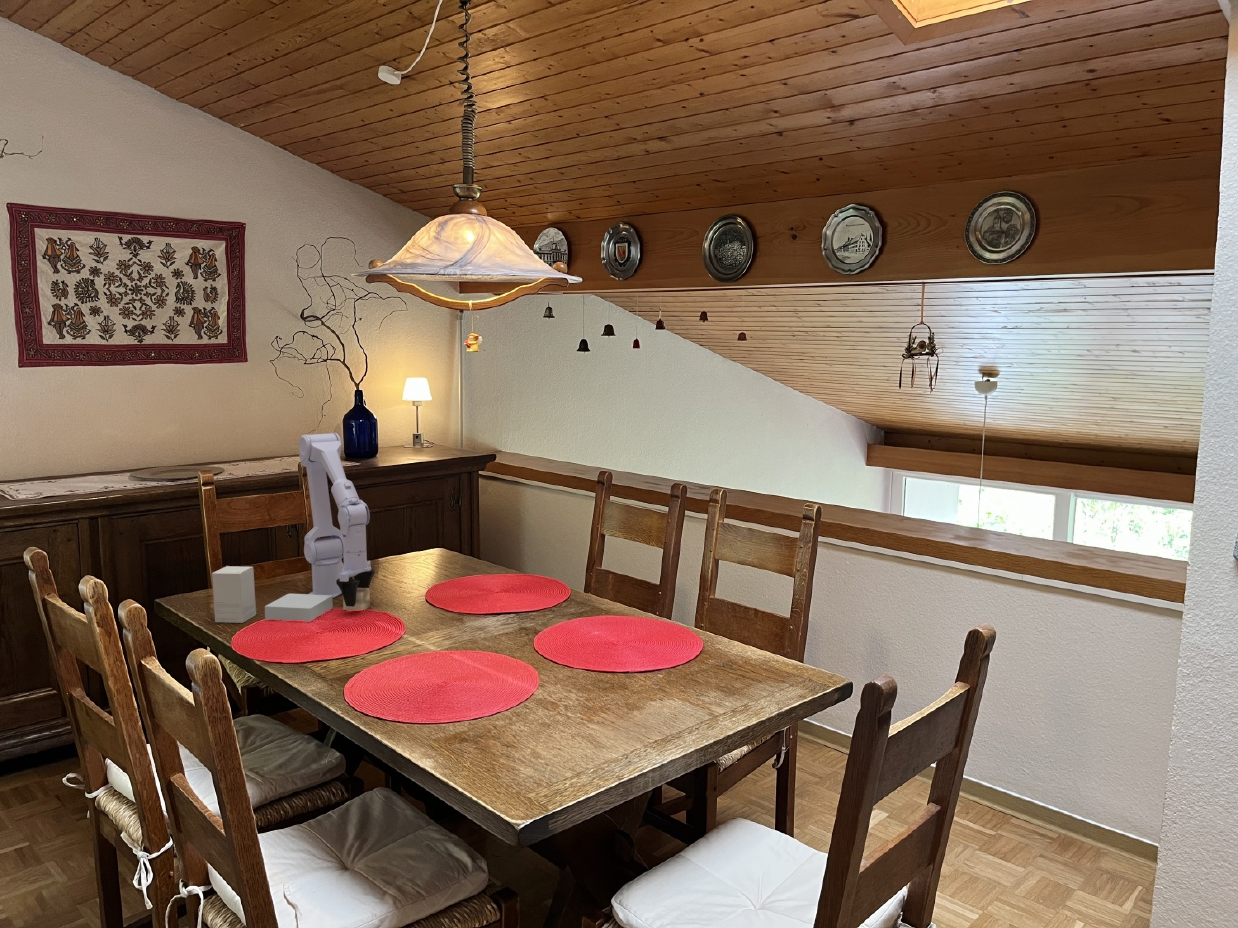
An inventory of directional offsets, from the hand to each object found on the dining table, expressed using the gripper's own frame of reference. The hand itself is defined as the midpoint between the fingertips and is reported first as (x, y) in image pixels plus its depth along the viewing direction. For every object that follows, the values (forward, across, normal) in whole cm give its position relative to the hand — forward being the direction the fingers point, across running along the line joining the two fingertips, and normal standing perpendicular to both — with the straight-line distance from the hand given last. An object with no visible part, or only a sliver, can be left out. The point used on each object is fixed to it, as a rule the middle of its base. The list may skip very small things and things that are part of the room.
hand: (356, 601), depth 237 cm
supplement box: (+2, -13, +26) cm, 29 cm away
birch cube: (+2, 0, 0) cm, 2 cm away
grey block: (+2, -7, +12) cm, 14 cm away
